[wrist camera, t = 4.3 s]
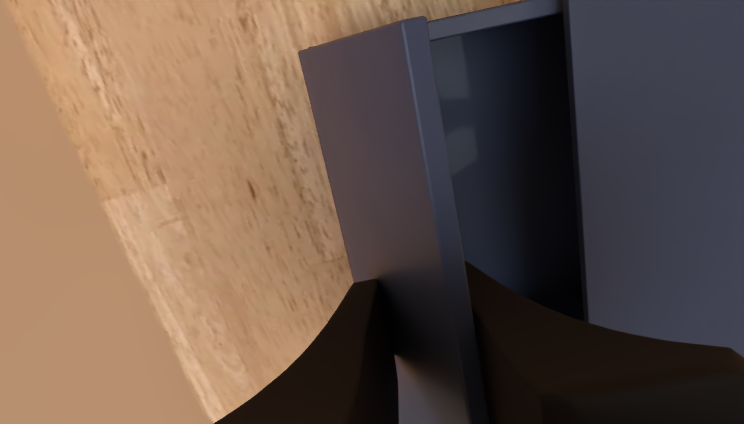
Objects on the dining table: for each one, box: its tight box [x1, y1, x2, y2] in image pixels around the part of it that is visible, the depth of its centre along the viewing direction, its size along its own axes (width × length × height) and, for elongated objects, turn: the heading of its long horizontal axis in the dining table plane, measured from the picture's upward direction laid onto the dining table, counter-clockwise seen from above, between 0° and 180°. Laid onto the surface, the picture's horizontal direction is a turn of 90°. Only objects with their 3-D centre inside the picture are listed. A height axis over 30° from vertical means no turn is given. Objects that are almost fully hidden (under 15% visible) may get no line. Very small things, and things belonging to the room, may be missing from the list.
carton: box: [309, 0, 744, 357], centre depth 17 cm, size 13×13×7 cm
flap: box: [298, 16, 489, 424], centre depth 11 cm, size 13×6×1 cm
